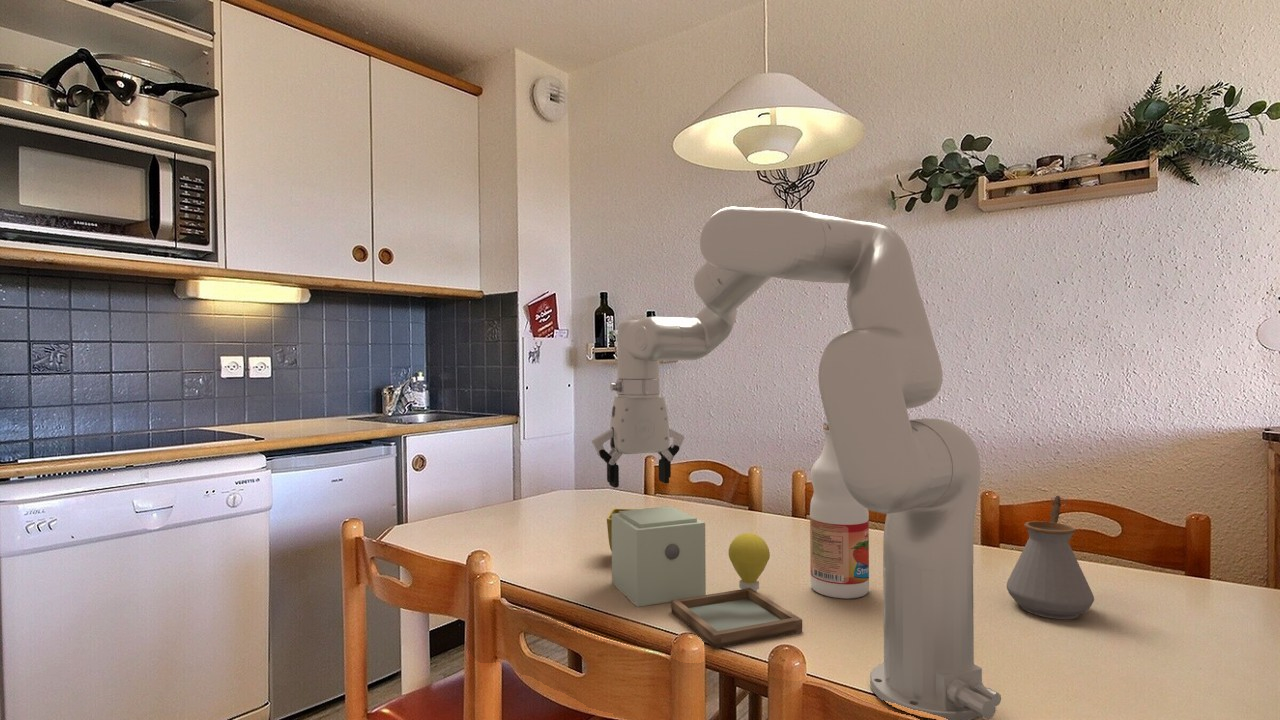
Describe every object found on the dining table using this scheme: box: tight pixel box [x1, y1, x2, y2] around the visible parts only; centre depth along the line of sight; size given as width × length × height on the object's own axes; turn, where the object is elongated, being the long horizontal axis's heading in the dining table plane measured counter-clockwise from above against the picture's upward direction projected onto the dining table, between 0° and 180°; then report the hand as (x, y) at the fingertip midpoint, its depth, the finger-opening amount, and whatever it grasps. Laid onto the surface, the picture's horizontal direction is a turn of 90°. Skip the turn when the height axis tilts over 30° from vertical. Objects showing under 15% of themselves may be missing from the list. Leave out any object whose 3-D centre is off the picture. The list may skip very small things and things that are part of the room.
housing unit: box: [611, 505, 707, 608], centre depth 112 cm, size 13×12×13 cm
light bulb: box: [728, 532, 771, 592], centre depth 109 cm, size 7×7×10 cm
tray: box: [670, 588, 803, 650], centre depth 98 cm, size 14×14×2 cm
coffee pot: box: [1006, 495, 1095, 620], centre depth 106 cm, size 21×12×15 cm, turn 143°
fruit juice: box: [809, 421, 870, 599], centre depth 111 cm, size 9×9×28 cm
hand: (639, 484), depth 119 cm, fingers open, 9 cm apart
